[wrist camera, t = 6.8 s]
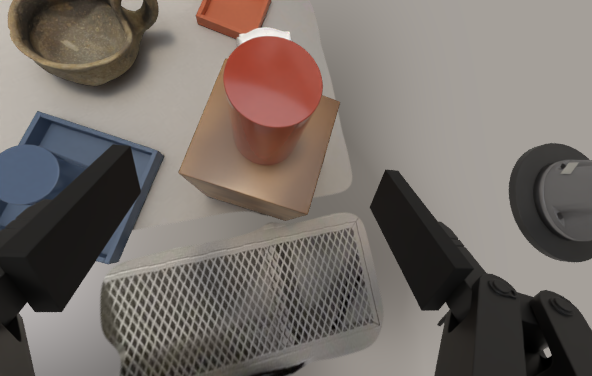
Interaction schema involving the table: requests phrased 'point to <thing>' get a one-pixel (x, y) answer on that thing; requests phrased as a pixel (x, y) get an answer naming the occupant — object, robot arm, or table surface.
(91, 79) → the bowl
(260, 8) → the red tray
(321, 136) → the brown wooden block
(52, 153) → the slate blue cylinder
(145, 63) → the table surface
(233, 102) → the red cylinder
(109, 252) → the blue tray
